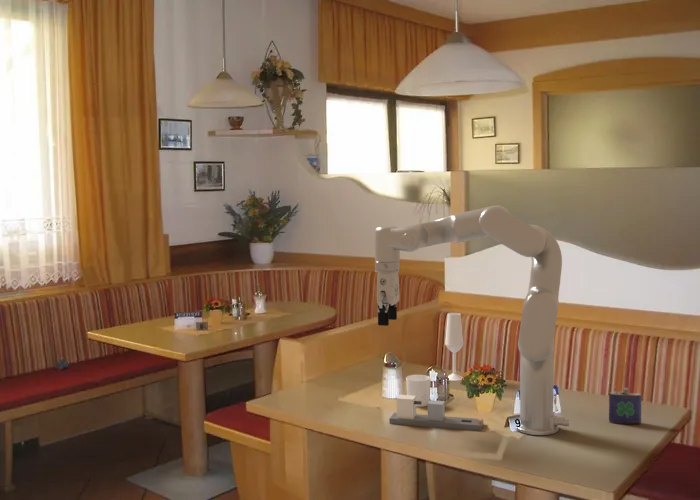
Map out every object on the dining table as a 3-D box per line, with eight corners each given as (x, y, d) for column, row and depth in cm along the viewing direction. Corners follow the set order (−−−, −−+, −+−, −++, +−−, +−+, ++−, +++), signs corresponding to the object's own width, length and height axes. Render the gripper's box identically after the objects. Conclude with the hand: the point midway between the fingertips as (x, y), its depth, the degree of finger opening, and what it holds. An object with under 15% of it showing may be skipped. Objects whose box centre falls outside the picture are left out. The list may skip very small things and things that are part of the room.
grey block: (444, 422, 235) (444, 401, 234) (442, 426, 231) (442, 404, 231) (430, 421, 236) (429, 400, 236) (427, 425, 233) (427, 403, 232)
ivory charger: (422, 420, 237) (422, 396, 236) (419, 424, 233) (419, 399, 233) (400, 418, 239) (399, 394, 238) (396, 422, 235) (396, 398, 235)
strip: (483, 429, 233) (483, 416, 232) (480, 435, 227) (480, 422, 227) (394, 422, 241) (394, 410, 240) (389, 428, 235) (389, 415, 235)
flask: (640, 422, 237) (641, 387, 236) (642, 425, 234) (642, 389, 233) (608, 420, 239) (608, 386, 238) (609, 423, 236) (609, 388, 235)
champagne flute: (452, 381, 286) (452, 316, 284) (441, 377, 292) (441, 313, 289) (467, 379, 289) (467, 314, 287) (456, 375, 295) (456, 311, 293)
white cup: (429, 412, 250) (429, 381, 249) (404, 411, 252) (404, 380, 251) (431, 405, 258) (431, 375, 257) (407, 404, 260) (407, 374, 259)
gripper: (392, 270, 231) (392, 328, 233) (406, 264, 247) (406, 317, 249) (367, 270, 233) (367, 327, 235) (382, 263, 250) (383, 316, 251)
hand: (387, 322), depth 242 cm, fingers open, 9 cm apart
